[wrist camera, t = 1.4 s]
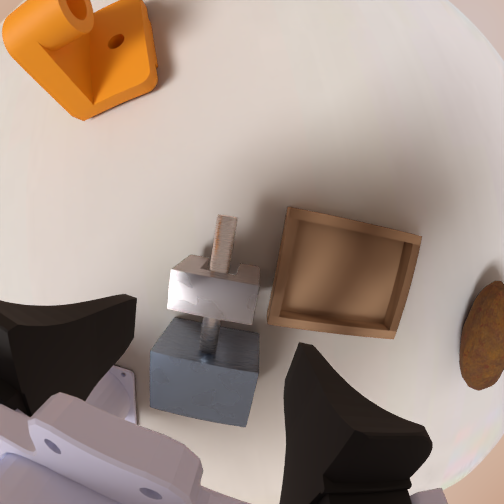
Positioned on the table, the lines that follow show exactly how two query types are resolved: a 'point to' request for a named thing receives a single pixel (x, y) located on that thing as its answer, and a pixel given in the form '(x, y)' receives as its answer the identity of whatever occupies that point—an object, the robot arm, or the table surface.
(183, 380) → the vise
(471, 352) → the potato
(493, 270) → the table surface
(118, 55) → the bracket
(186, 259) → the block
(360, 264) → the tray
